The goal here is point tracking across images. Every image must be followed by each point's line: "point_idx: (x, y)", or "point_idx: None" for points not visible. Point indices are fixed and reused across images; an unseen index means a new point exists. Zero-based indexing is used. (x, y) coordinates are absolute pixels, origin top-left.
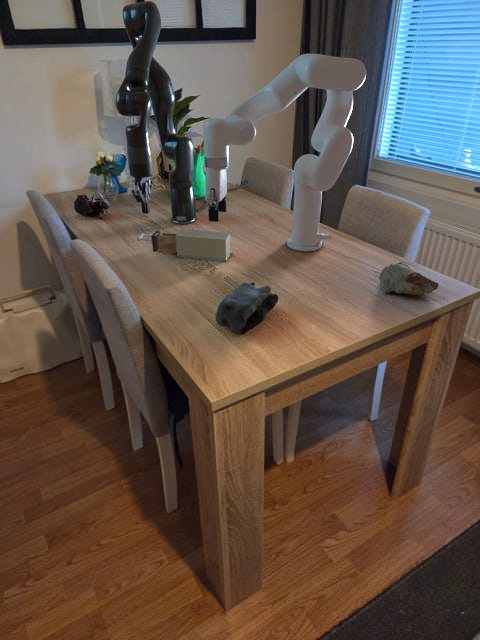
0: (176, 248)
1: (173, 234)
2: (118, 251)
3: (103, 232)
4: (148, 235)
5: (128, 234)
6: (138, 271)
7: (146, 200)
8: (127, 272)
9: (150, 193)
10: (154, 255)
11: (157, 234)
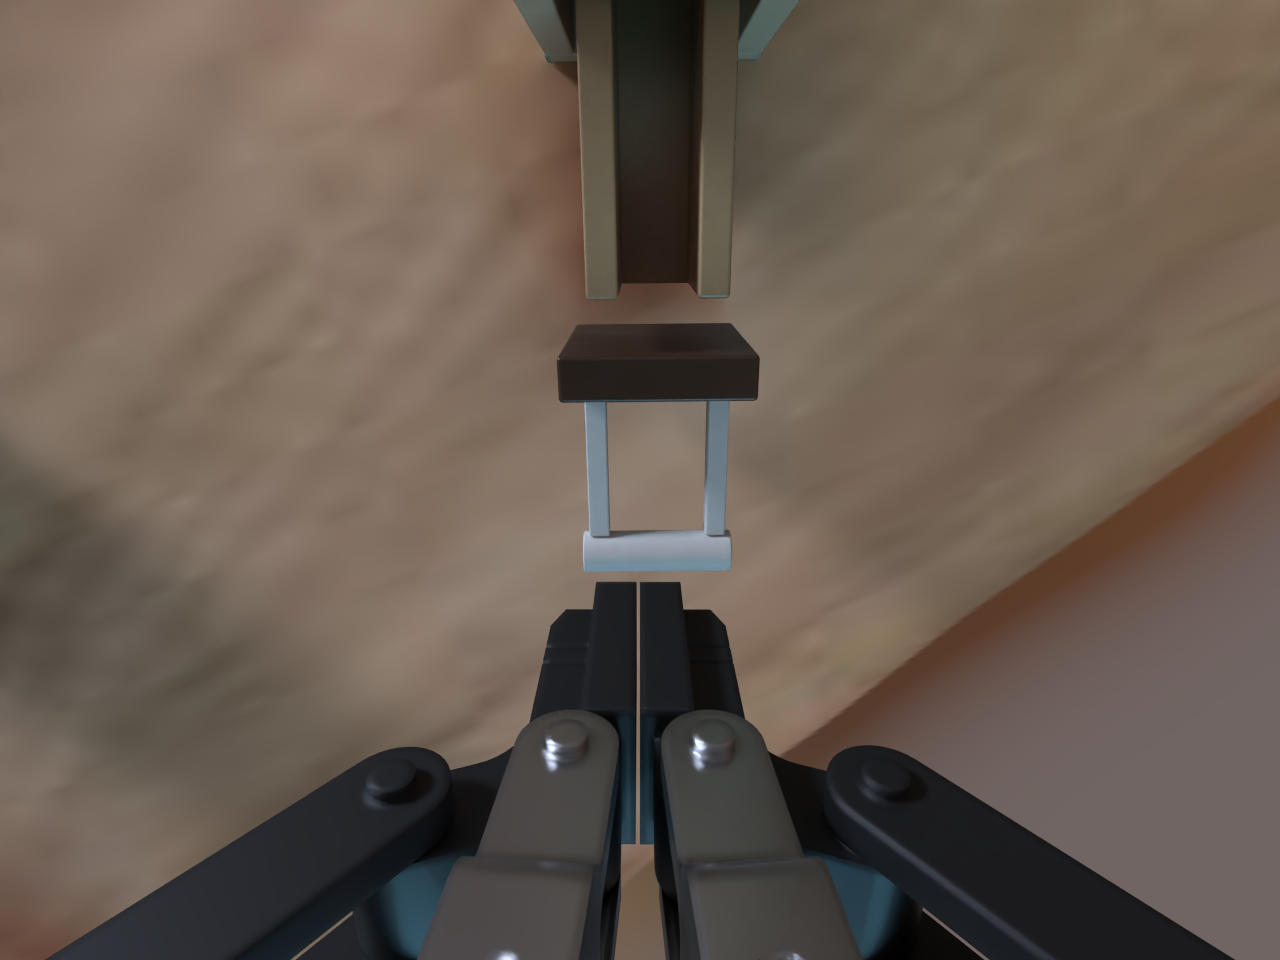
0: (773, 33)
1: (613, 114)
2: None
3: None
4: (606, 482)
5: (348, 737)
6: (1139, 333)
7: (740, 762)
8: (1159, 421)
9: (352, 862)
10: (757, 328)
11: (657, 352)
